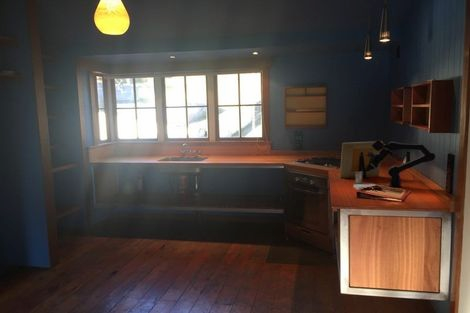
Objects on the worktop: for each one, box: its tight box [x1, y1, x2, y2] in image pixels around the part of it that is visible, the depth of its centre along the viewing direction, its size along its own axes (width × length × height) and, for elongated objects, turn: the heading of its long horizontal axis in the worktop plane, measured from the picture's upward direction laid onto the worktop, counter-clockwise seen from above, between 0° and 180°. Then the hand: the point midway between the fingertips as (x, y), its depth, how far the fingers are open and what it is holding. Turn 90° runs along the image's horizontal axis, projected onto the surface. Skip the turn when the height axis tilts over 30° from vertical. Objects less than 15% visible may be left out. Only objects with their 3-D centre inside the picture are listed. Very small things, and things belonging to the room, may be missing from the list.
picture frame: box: [339, 140, 384, 180], centre depth 305 cm, size 33×10×30 cm, turn 92°
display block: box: [353, 183, 375, 191], centre depth 265 cm, size 14×10×2 cm
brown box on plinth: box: [353, 172, 363, 186], centre depth 276 cm, size 6×6×10 cm
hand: (365, 170), depth 273 cm, fingers open, 9 cm apart
